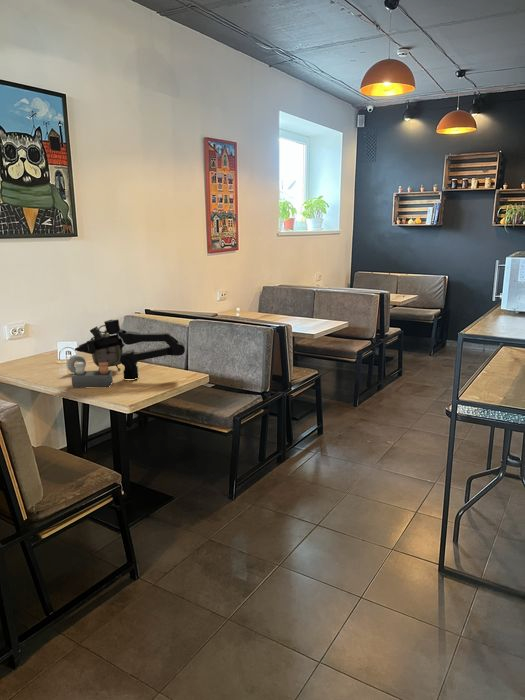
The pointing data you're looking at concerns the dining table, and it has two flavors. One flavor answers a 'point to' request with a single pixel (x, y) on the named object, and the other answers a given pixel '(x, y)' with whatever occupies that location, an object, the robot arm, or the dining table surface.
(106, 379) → the press block
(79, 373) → the plunger
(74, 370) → the donut
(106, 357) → the tabletop clock
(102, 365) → the terracotta plunger
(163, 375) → the dining table surface
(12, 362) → the dining table surface
